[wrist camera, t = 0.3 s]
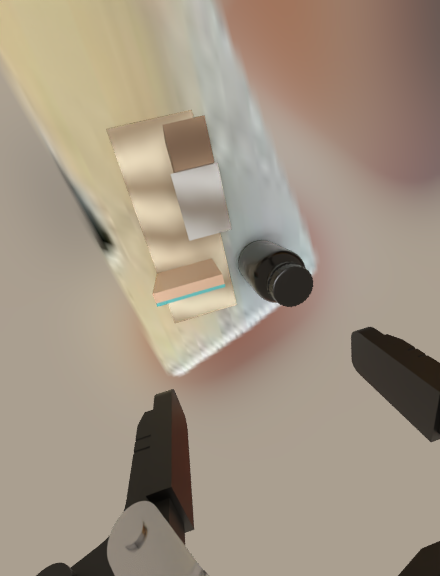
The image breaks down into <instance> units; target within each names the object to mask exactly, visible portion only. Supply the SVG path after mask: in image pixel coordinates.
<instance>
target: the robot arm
mask: <svg viewBox="0 0 440 576" xmlns="http://www.w3.org/2000/svg"><path fill="white" fill-rule="evenodd" d="M351 349H352V363H353V366H354V367H355V369H356V371H357V372H358V373H359V374H360V375H361V376H362V377H363V378H364V379H365V380H366V381H367V382H368V383H369V384H371V386H373V387H374V388H375V389H376V390H377V391H378V392H379V393H380V394H381V395H382V396H383V397H384V398H385V399H386V400H387V401H388V402H389V403H390V404H392V406H394V407H395V408H396V409H397V410H398V411H399V412H400V413H401V414H402V415H403V416H404V417H405V418H406V419H407V420H408V421H409V422H410V423H411V424H412V425H413V426H415V427H416V428H417V429H418V430H419V431H420V432H421V433H422V434H423V435H424V436H425V437H426V438H427V439H428V440H429V441H430V442H433V441H436V440H438V439H440V363H439V362H437V361H436V360H434V359H433V358H431V357H429V356H426V355H425V353H423V352H421V351H420V350H418V349H415V347H413V346H412V345H410V344H409V343H407V342H405V341H404V340H402V339H399V338H397V337H394V336H391V335H388V334H386V335H384V334H382V333H381V332H379V331H378V330H376V329H375V328H372V327H367V328H364V329H361V330H357V331H355V332H353V333H352V335H351ZM191 530H194V520H193V505H192V489H191V474H190V459H189V445H188V429H187V423H186V418H185V415H184V413H183V410H182V408H181V405H180V403H179V400H178V398H177V395H176V393H175V391H174V389H171V390H168V391H166V392H162V393H159V394H156V395H155V398H154V407H153V410H151V411H148V412H145V413H144V415H143V417H142V419H141V420H140V422H139V424H138V427H137V434H136V442H135V447H134V455H133V461H132V468H131V474H130V481H129V487H128V494H127V500H126V505H125V509H124V512H123V513H122V514H121V516H120V517H119V518H118V520H117V521H116V523H115V525H114V527H113V529H112V531H111V534H110V536H109V537H108V538H107V539H106V540H105V541H104V542H103V543H102V544H100V545H99V546H98V547H97V548H96V549H94V550H93V551H92V552H90V553H89V554H88V555H87V556H85V557H84V558H83V559H82V560H80V561H79V562H77V563H76V564H75V565H74V566H72V567H71V568H70V567H69V566H67V565H66V564H64V563H55V564H52V565H50V566H48V567H47V568H45V569H44V570H42V571H41V572H40V573H39V574H38V575H37V576H209V575H208V574H207V573H206V572H205V571H204V570H203V569H202V568H201V567H200V565H199V564H198V563H197V561H196V560H195V559H194V557H193V556H192V554H191V553H190V552H189V550H188V549H187V548H186V547H185V533H186V532H188V531H191ZM398 576H440V541H439V542H436V543H434V544H432V545H429V546H427V547H424V548H422V549H421V550H420V551H419V552H418V553H417V554H416V556H415V557H414V558H413V559H412V561H410V563H409V564H408V565H407V566H406V567H405V568H404V570H403V571H402V572H401V573H400V574H399V575H398Z"/></svg>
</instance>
